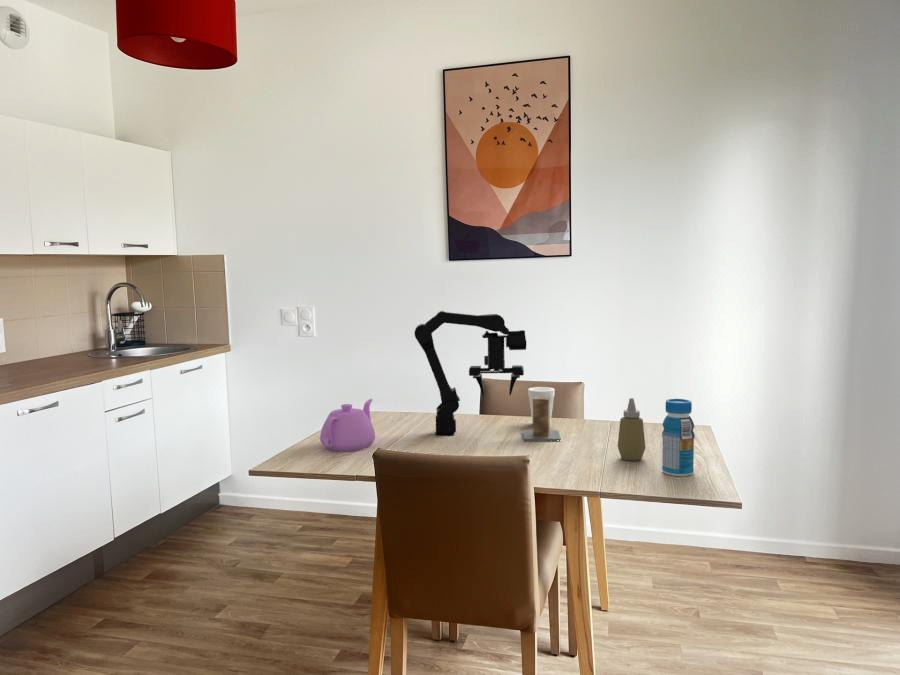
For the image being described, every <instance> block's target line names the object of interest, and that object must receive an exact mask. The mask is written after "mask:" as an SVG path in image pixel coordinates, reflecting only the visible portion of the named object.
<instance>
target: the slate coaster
mask: <svg viewBox="0 0 900 675" xmlns="http://www.w3.org/2000/svg"><path fill="white" fill-rule="evenodd" d="M522 435H523V441H524V442H561V441H560V440H562V439H561V435H560V432H559V430H554V429H553V430H552V429H551V430H550V433H549V436H533V429H532V430H531V429H530V430H528V429H527V430H526V429H525V430H523V431H522ZM551 440H552V441H551ZM557 440H559V441H557Z"/></svg>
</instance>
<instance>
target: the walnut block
mask: <svg viewBox="0 0 900 675" xmlns="http://www.w3.org/2000/svg"><path fill="white" fill-rule="evenodd" d="M550 428H551V423H550V409H549V397H540V396H535V397H534V398H533V423H532V430H533V436H549V433H550Z"/></svg>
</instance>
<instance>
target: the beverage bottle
mask: <svg viewBox="0 0 900 675" xmlns="http://www.w3.org/2000/svg"><path fill="white" fill-rule="evenodd" d="M692 405H693V403H692V401H691V400H690V399H684V398H669V399H666V400H665V413H667V415H666V417H664V419H663V421H662V427H663V429H662V432H661V438H662V467H661V471H662V472H663V473H664V474H666V475H668V476H673V477H688V476H691V475H692V474H693V475H694V455H695V454H694V453H695V452H694V450H695V449H694V448H695V447H694V446H695V442H694V441H695V439H696V438H695V432H694V429H695V423H694V421H693V419H692V417H691V416H690V414H692V412H693V411H692V409H693V408H692V407H693V406H692Z"/></svg>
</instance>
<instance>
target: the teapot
mask: <svg viewBox="0 0 900 675" xmlns="http://www.w3.org/2000/svg"><path fill="white" fill-rule="evenodd" d="M372 402H373V398H369V399H368V400H366V401H365V403H364V405H363V409H361V408H355V407H354V408H353V404H350V403H346V404H342V405H341V408H339V409H338V408H337V409H334V410H332V411H330V413H329V414H328V416H327V418H326V419H325V421H324V423H323V425H322V427H321V430H320V436H319V441H320V443H321V444H322V446H323V447H324V448H325V449H327V450H328V451H331V452H354V451H356V452H357V451H361V450H365V449H367V448H369V447H371V445H372V444H373V442H374V441H375V439H376V432H375V428H374V426H373V423H372V417H371V411H370V410H371V409H370V408H371V404H372ZM364 448H365V449H364Z"/></svg>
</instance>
